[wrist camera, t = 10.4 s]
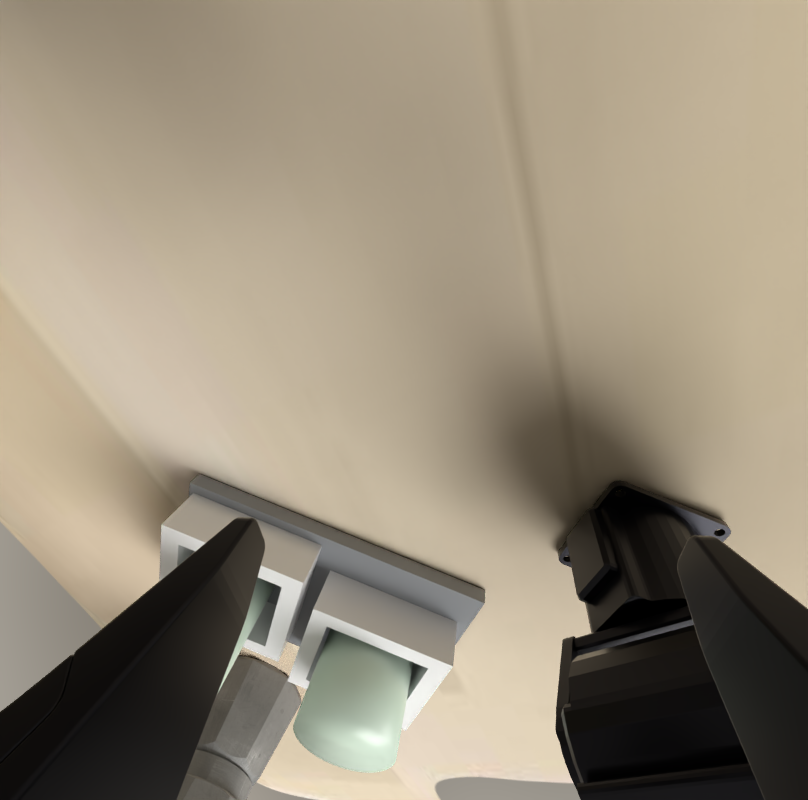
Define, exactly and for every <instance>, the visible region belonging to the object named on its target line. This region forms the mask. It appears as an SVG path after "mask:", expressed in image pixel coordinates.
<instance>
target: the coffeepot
mask: <svg viewBox="0 0 808 800" xmlns="http://www.w3.org/2000/svg"><path fill="white" fill-rule="evenodd" d="M288 678H289V677H288V676H287V675H285V674H284V673H283V672H281V671H280V670H279V669H277V668H275V667H274V666H272V665H270V664H268V663H266V662H264V661H261V660H258V659H255V658H251V657H247V656H238V657H237V659H236V660H235V662H234V664H233V666H232V668H231V670H230V672H229V673H228V675H227V677H226V679H225V681H224V683H223V685H222V687H221V688H220V690H219V692H218V694H217V696H216V699H215V701H214V704H213V707H212V709H211V712H210V714H209V717H208V720H207V722H206V725H205V727H204V730H203V733H202V735H201V738H200V740H199V743H198V746H197V748H196V751H195V753H194V756H193V759H192V761H191V764H190V766H189V769H188V772H187V774H186V777H185V779H184V782H183V785H182V787H181V790H180V792H179V795H178V798H177V800H247V798H248V795H249V793H250V790H251V787H252V786H253V785H254V784H255V783H256V782H257V780H258V779H259V777H260V776H261V774H262V772H263V770H264V769H265V767H266V765H267V763H268V761H269V760H270V758H271V756H272V754H273V752H274V751H275V749H276V747H277V745H278V743H279V742H280V740H281V738H282V736H283V734H284V733H285V731H286V729H287V727H288V725H289V724H290V722H291V720H292V718H293V716H294V714H295V713H296V711H297V709H298V707H299V705H300V704H301V699H300V695H299V692H298V690H297V688H296V686H295V684H293V683H290V682H288Z"/></svg>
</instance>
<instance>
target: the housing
mask: <svg viewBox="0 0 808 800" xmlns="http://www.w3.org/2000/svg"><path fill="white" fill-rule="evenodd" d="M238 517H250V518H255V519H256V520H257V522H258V524H259V527H260V530H261V532H262V535H263V538H264V540H265V552H264V556H263V559H262V563H261V567H260V570H259V574H258V578H261V579H263V580H265V581H268V582H270V583H273V584H275V585H276V586H275V587H274V589H273V591H272V593H271V595H270V597H269V599H268V601H267V602H266V604H265V606H264V608H263V610H262V612H261V614H260V615H259V617H258V619H257V621H256V623H255V625H254V627H253V629H252V630H251V632H250V634H249V636H248V638H247V640H246V642H245V644H244V645H243V647H244V648H246V649H249V650H251V651H254V652H256V653H258V654H261V655H263V656H265V657H268V658H270V659H273V660H275V661H277V662H278V661H279V659H280V657H281V655H282V653H283V650H284V648H285V646H286V644H287V642H290V643H292V644H295V645H297V646H300V648H299V650H298V653H297V656H296V659H295V662H294V664H293V667H292V670H291V673H290V676H289V678H288V682H290V683H293V684H295V685H298V686H300V687H302V688H305V689H307V691H306V693H305V696H304V698H303V701H302V704H301V706H300V709H299V712H298V714H297V717H296V719H295V722H294V725H293V729H294V733H295V735H296V737H297V739H298V740H299V742H300V743H301V744H302V745H303V746H304V747H305V748H306V749H307V750H308V751H310V752H311V753H312V754H314V755H315V756H317V757H319V758H320V759H322V760H324V761H326V762H328V763H330V764H332V765H335V766H338V767H341V768H344V769H347V770H351V771H357V772H366V773H373V772H381V771H384V770H387V769H389V768H390V767H392V766H393V765H394V763H395V761H396V757H397V751H398V745H399V740H400V734H401V729H402V730H405V731H406V730H407V728H408V727H409V726H410V724H411V723H412V722H413V720H414V719H415V717H416V716H417V715H418V713H419V712H420V711H421V709H422V708H423V707H424V705H425V704H426V702H427V701H428V700H429V698H430V697H431V696H432V694H433V693H434V692H435V690H436V689H437V687H438V686H439V685H440V683H441V682H442V681H443V679H444V678H445V677H446V675H447V674H448V673H449V671H450V670H451V668H452V667H453V661H454V650H455V645H456V643H457V642H458V640H459V639H460V638H461V636H462V635H463V633H464V632H465V630H466V629H467V628H468V626H469V625H470V623H471V622H472V620H473V619H474V618H475V616H476V615H477V613H478V612H479V611H480V609H481V608H482V606H483V605H484V603H485V590H483V589H481V588H478V587H476V586H473V585H471V584H469V583H466V582H464V581H461V580H459V579H456V578H454V577H451V576H449V575H446V574H444V573H442V572H439V571H437V570H434V569H432V568H429V567H427V566H424V565H422V564H419V563H417V562H415V561H412V560H410V559H407V558H405V557H402V556H400V555H397V554H395V553H392V552H390V551H388V550H385V549H383V548H380V547H378V546H375V545H373V544H370V543H368V542H365V541H363V540H361V539H358V538H356V537H353V536H351V535H348V534H346V533H343V532H341V531H339V530H336V529H334V528H331V527H329V526H326V525H324V524H321V523H319V522H316V521H314V520H312V519H309V518H307V517H304V516H302V515H299V514H297V513H294V512H292V511H289V510H287V509H285V508H282V507H280V506H277V505H275V504H272V503H270V502H267V501H265V500H262V499H260V498H258V497H255V496H253V495H250V494H248V493H245V492H243V491H240V490H238V489H235V488H233V487H231V486H228V485H226V484H223V483H221V482H218V481H216V480H213V479H211V478H209V477H206V476H204V475H201V474H199V475H198V476H196V477H195V478H194V479H193V480H192V481H191V482H190V487H189V498H188V499H187V500H186V501H185V502H184V503H183V504H182V505H181V506H180V507H179V508H178V509H176V510H175V511H174V512H173V513H172V514H171V515H170V516H169V517H168V518H167V519H166V520H165V521H164V522H163V523H162V524H161V549H160V577H159V581H160V580H162V579H163V578H164V577H165V576H166V575H168V574H169V573H170V572H171V571H172V570H174V569H175V568H176V567H177V566H178V565H180V564H181V563H182V562H183V561H184V560H186V559H187V558H188V557H189V556H191V555H192V554H193V553H194V552H195V551H197V550H198V549H199V548H200V547H201V546H203V545H204V544H205V543H206V542H207V541H209V540H210V539H211V538H212V537H213V536H215V535H216V534H217V533H218V532H219V531H221V530H222V529H223V528H224V527H225V526H227V525H228V524H229V523H230V522H231V521H233V520H234V519H236V518H238Z"/></svg>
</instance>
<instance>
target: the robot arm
mask: <svg viewBox="0 0 808 800" xmlns="http://www.w3.org/2000/svg"><path fill="white" fill-rule="evenodd" d="M619 489H622V490H623V491H621V492H616V491H617V490H619ZM717 529H720V530H718V531H715V530H717ZM730 534H731V530H730V528H729V527H728V525H727V524H726V523H725V522H724V521H722V520H719V519H717V518H714V517H712V516H709V515H707V514H704V513H702V512H699V511H697V510H694V509H692V508H689V507H686V506H684V505H681V504H679V503H676V502H674V501H671V500H669V499H666V498H664V497H661V496H659V495H656V494H654V493H651V492H649V491H646V490H644V489H641V488H639V487H636V486H634V485H631V484H628V483H626V482H623V481H615V482H613V483H611V484H610V485H609V487H608V488H607V489H606V490H605V492H604V493H603V494H602V496H601V497H600V498H599V499H598V501H597V502H596V503H595V505H594V506H593V507H592V508H590V509H589V510H587V511H586V513H585V514H584V515H583V517H582V518H581V519H580V521H579V522H578V523H577V524H576V526H575V527H574V528H573V530H572V531H571V532H570V534H569V535H568V536H567V538H566V542H565V543H564V545H563V546H562V547H561V549H560V550H559V552H558V556H559V561H560V562H561V563H562V564H564V565H567V566H569V567H572V572H573V577H574V582H575V587H576V592H577V595H578V598H579V600H581V601H583V602H585V604H586V608H587V613H588V618H589V623H590V627H591V632H592V633H591V634H588V635H584V636H581V637H577V638H575V637H574V636H573V637H569V638H566V639H563V643H562V654H561V664H560V675H559V685H558V696H557V707H556V734H557V737H558V739H559V742H560V745H561V749H562V754H563V757H564V759H565V763H566V765H567V768H568V771H569V773H570V776H571V778H572V780H573V783H574V785H575V787H576V789H577V791H578V794H579V797H580V799H581V800H808V609H807V608H806V607H805V606H804V605H802V604H801V603H800V602H798V601H797V600H796V599H795V598H793V597H792V596H791V595H790V594H788V593H787V592H786V591H784V590H783V589H782V588H781V587H779V586H778V585H777V584H775V583H774V582H773V581H772V580H770V579H769V578H768V577H767V576H765V575H764V574H763V573H761V572H760V571H759V570H758V569H756V568H755V567H754V566H753V565H751V564H750V563H749V562H747V561H746V560H745V559H744V558H742V557H741V556H740V555H738V554H737V553H736V552H735V551H733V550H732V549H731V548H730V547H728V546H727V545H726V544H724V543H723V541H724V540H725V539H726V538H727V537H729V535H730ZM264 552H265V540H264V538H263V535H262V532H261V530H260V527H259V524H258V522H257V520H256V519H255V518H250V517H238V518H236V519H234V520H233V521H231V522H230V523H229V524H228V525H227V526H225V527H224V528H223V529H222V530H221V531H219V532H218V533H217V534H216V535H215V536H213V537H212V538H211V539H210V540H209V541H207V542H206V543H205V544H204V545H203V546H201V547H200V548H199V549H198V550H197V551H195V552H194V553H193V554H192V555H191V556H189V557H188V558H187V559H186V560H184V561H183V562H182V563H181V564H180V565H178V566H177V567H176V568H175V569H174V570H172V571H171V572H170V573H169V574H168V575H166V576H165V577H164V578H163V579H162V580H160V581H159V582H158V583H157V584H156V585H154V586H153V587H152V588H151V589H150V590H148V591H147V592H146V593H145V594H144V595H142V596H141V597H140V598H139V599H138V600H136V601H135V602H134V603H133V604H132V605H130V606H129V607H128V608H127V609H126V610H124V611H123V612H122V613H121V614H120V615H118V616H117V617H116V618H115V619H114V620H112V621H111V622H110V623H109V624H108V625H106V626H105V627H104V628H103V629H102V630H100V631H99V632H98V633H97V634H96V635H94V636H93V637H92V638H91V639H90V640H88V641H87V642H86V643H85V644H84V645H82V646H81V647H80V648H79V649H78V650H77V651H76V652H75V654H74V655H70V656H69V657H68V658H67V659H66V660H64V661H63V662H62V663H61V664H59V665H58V666H57V667H56V668H55V669H53V670H52V671H51V672H50V673H49V674H47V675H46V676H45V677H44V678H42V679H41V680H40V681H39V682H38V683H36V684H35V685H34V686H33V687H31V688H30V689H29V690H28V691H26V692H25V693H24V694H23V695H21V696H20V697H19V698H18V699H16V700H15V701H14V702H13V703H11V704H10V705H9V706H7V707H6V708H5V709H4V710H2V711H1V712H0V800H177V798H178V795H179V792H180V790H181V787H182V785H183V782H184V779H185V777H186V774H187V772H188V769H189V766H190V764H191V761H192V759H193V756H194V753H195V751H196V748H197V746H198V743H199V740H200V738H201V735H202V733H203V730H204V727H205V725H206V722H207V720H208V717H209V714H210V712H211V709H212V707H213V704H214V701H215V699H216V696H217V694H218V691H219V688H220V686H221V683H222V681H223V678H224V675H225V673H226V670H227V668H228V665H229V662H230V660H231V657H232V655H233V652H234V649H235V647H236V644H237V642H238V639H239V636H240V634H241V631H242V629H243V626H244V623H245V620H246V617H247V614H248V610H249V607H250V603H251V600H252V596H253V592H254V589H255V585H256V581H257V578H258V574H259V570H260V567H261V563H262V559H263V556H264ZM565 556H569V557H565Z"/></svg>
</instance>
